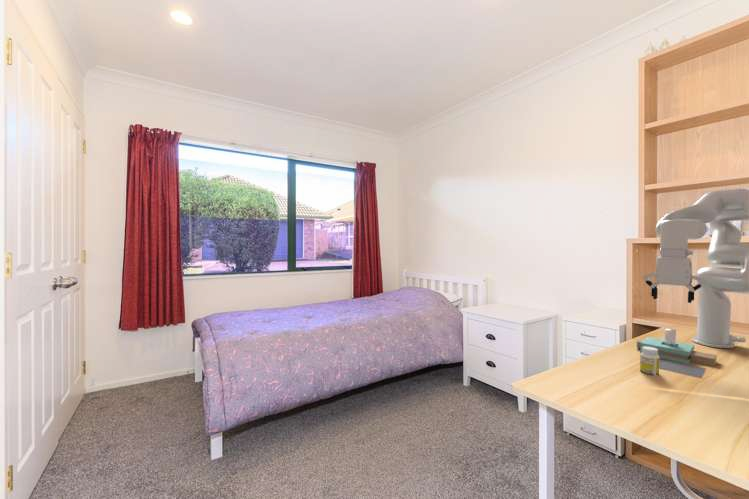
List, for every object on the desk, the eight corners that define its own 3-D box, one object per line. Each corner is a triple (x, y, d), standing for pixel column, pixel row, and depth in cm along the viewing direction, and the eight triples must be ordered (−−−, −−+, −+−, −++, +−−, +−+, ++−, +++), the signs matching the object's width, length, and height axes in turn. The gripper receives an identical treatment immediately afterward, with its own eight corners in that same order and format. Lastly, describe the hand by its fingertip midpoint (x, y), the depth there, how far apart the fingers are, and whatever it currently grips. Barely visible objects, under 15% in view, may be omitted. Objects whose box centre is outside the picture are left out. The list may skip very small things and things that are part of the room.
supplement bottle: (652, 371, 112) (653, 346, 112) (662, 377, 107) (663, 351, 107) (636, 370, 112) (637, 345, 112) (646, 376, 108) (647, 350, 107)
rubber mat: (706, 370, 113) (706, 368, 113) (701, 380, 105) (701, 378, 105) (659, 360, 122) (659, 358, 122) (651, 368, 114) (651, 366, 114)
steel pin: (672, 355, 127) (673, 328, 126) (676, 358, 124) (677, 331, 124) (662, 354, 128) (663, 328, 127) (666, 357, 125) (667, 330, 125)
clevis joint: (717, 361, 121) (717, 349, 121) (713, 370, 113) (713, 356, 113) (641, 346, 137) (641, 335, 137) (633, 353, 129) (633, 341, 129)
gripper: (707, 254, 120) (706, 302, 121) (646, 252, 133) (644, 296, 134) (705, 255, 115) (703, 305, 116) (641, 253, 128) (640, 298, 129)
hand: (672, 300), depth 125 cm, fingers open, 9 cm apart
